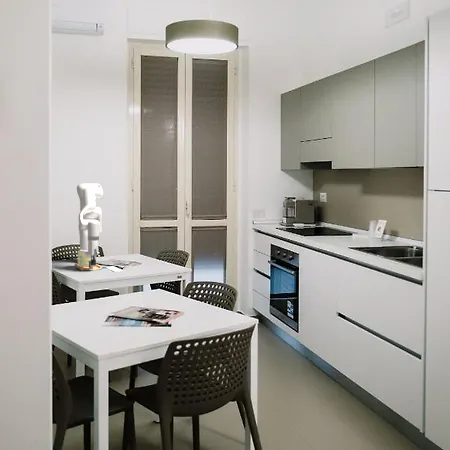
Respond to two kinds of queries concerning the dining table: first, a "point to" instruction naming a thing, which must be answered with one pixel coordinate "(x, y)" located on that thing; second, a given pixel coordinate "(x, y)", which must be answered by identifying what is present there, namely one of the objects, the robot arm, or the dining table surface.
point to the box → (83, 257)
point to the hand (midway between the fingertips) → (93, 265)
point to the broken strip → (114, 269)
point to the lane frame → (88, 267)
